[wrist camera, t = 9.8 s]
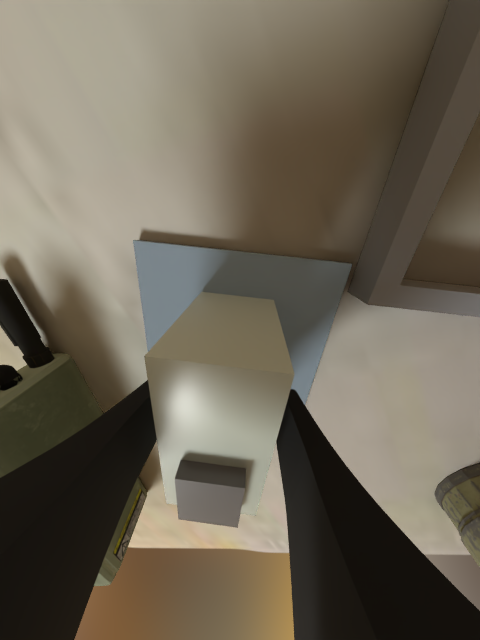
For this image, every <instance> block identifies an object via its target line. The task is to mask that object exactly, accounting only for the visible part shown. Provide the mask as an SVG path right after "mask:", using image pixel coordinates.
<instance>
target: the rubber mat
mask: <svg viewBox="0 0 480 640" xmlns="http://www.w3.org/2000/svg"><path fill="white" fill-rule="evenodd" d="M133 243H134V251H135V258H136V266H137V273H138V281H139V288H140V296H141V303H142V311H143V318H144V325H145V333H146V340H147V348H148V352H149V351H150V349H151V348H152V347H153V346H154V345H155V344H156V343H157V341H158V340H159V339H160V338H161V337H162V336H163V335H164V334H165V332H166V331H167V330H168V329H169V328H170V327H171V326H172V325H173V323H174V322H175V321H176V320H177V319H178V318H179V317H180V316H181V314H182V313H183V312H184V311H185V310H186V309H187V308H188V307H189V305H190V304H191V303H192V302H193V301H194V300H195V299H196V297H197V296H198V295H199V294H200V293H201V292H208V293H217V294H226V295H235V296H244V297H253V298H262V299H271V300H274V302H275V306H276V309H277V313H278V317H279V320H280V324H281V327H282V331H283V334H284V338H285V342H286V345H287V349H288V352H289V356H290V360H291V363H292V367H293V370H294V374H295V375H294V378H293V382H292V386H291V389H294V390H296V391H297V393H298V395H299V396H300V398H301V400H302V401H303V403H304V405H305V403H306V400H307V397H308V394H309V391H310V388H311V385H312V382H313V379H314V376H315V373H316V370H317V367H318V364H319V361H320V358H321V356H322V353H323V350H324V347H325V344H326V341H327V338H328V335H329V332H330V329H331V326H332V323H333V320H334V317H335V314H336V311H337V308H338V305H339V302H340V299H341V296H342V293H343V290H344V287H345V285H346V282H347V279H348V276H349V273H350V270H351V267H352V264H350V263H346V262H337V261H328V260H318V259H309V258H300V257H291V256H281V255H272V254H263V253H254V252H244V251H235V250H226V249H217V248H207V247H198V246H189V245H180V244H170V243H161V242H152V241H143V240H133Z"/></svg>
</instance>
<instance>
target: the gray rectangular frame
mask: <svg viewBox="0 0 480 640" xmlns="http://www.w3.org/2000/svg"><path fill="white" fill-rule="evenodd" d="M479 113H480V0H450V1H449V4H448V7H447V9H446V12H445V15H444V18H443V21H442V24H441V27H440V29H439V32H438V35H437V38H436V41H435V44H434V47H433V49H432V52H431V55H430V58H429V61H428V64H427V67H426V69H425V72H424V75H423V78H422V81H421V84H420V87H419V90H418V92H417V95H416V98H415V101H414V104H413V107H412V110H411V112H410V115H409V118H408V121H407V124H406V127H405V130H404V132H403V135H402V138H401V141H400V144H399V147H398V150H397V153H396V155H395V158H394V161H393V164H392V167H391V170H390V173H389V175H388V178H387V181H386V184H385V187H384V190H383V193H382V195H381V198H380V201H379V204H378V207H377V210H376V213H375V215H374V218H373V221H372V224H371V227H370V230H369V233H368V236H367V238H366V241H365V244H364V247H363V250H362V253H361V256H360V258H359V261H358V264H357V267H356V270H355V273H354V276H353V278H352V281H351V284H350V287H349V290H348V292H349V293H350V294H352V295H354V296H355V297H357V298H358V299H360V300H361V301H363V302H364V303H366V304H368V305H377V306H386V307H394V308H403V309H412V310H421V311H430V312H439V313H448V314H456V315H465V316H474V317H480V287H473V286H464V285H455V284H446V283H436V282H427V281H418V280H409V279H403V277H404V275H405V273H406V271H407V269H408V266H409V264H410V262H411V260H412V258H413V256H414V253H415V251H416V249H417V247H418V245H419V243H420V240H421V238H422V236H423V234H424V232H425V230H426V227H427V225H428V223H429V221H430V219H431V217H432V215H433V212H434V210H435V208H436V206H437V204H438V202H439V199H440V197H441V195H442V193H443V191H444V189H445V186H446V184H447V182H448V180H449V178H450V176H451V173H452V171H453V169H454V167H455V165H456V163H457V161H458V158H459V156H460V154H461V152H462V150H463V148H464V145H465V143H466V141H467V139H468V137H469V135H470V132H471V130H472V128H473V126H474V124H475V122H476V119H477V117H478V115H479Z"/></svg>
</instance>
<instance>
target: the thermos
mask: <svg viewBox="0 0 480 640" xmlns="http://www.w3.org/2000/svg"><path fill="white" fill-rule="evenodd" d="M435 496H436V500H437V502H438V503H439V505H440V506H441V508H442V509H443V510H444V511H445V512H446V513H447V515H448V516H449V518H450V519H451V521H452V522H453V524H454V525H455V527H456V528H457V530H458V531H459V534H460V536H461V540H462V542H463V544H464V545H465V547H466V548H467V550H468V551H469V553H470V554H471V556H472V557H473V559H474V560H475V562H476V563H477V565H478V566H479V568H480V463H479V464H476V465H473V466H470V467H467V468H464V469H461V470H459V471H457V472H456V473H454V474H452V475H450V476H448V477H447V478H445V479H444V480H443V481H442V482H441V483H440V484H439V485H438V487H437V489H436V491H435Z"/></svg>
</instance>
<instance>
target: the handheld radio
mask: <svg viewBox="0 0 480 640" xmlns="http://www.w3.org/2000/svg"><path fill="white" fill-rule="evenodd" d="M0 326H1V327H2V329H3V330H4V331H5V333H6V334H7V336H8V337H9V339H10V340H11V342H12V343H13V344H14V346H18V347H19V348H20V350H21V351H22V353H23V354H24V356H23V359H24V360H25V362H26V363H27V365H26V366H24V367H23V368H21V369H19V370H18V371H16V370H15V369H14V368H13V367H12V366H9V365H0V478H1V477H3V476H4V475H6V474H8V473H10V472H12V471H13V470H15V469H17V468H19V467H20V466H22V465H24V464H25V463H27V462H29V461H31V460H32V459H34V458H36V457H38V456H39V455H41V454H43V453H45V452H46V451H48V450H50V449H51V448H53V447H55V446H56V445H58V444H59V443H61V442H63V441H64V440H66V439H67V438H69V437H71V436H72V435H74V434H75V433H77V432H78V431H80V430H81V429H83V428H84V427H86V426H87V425H89V424H90V423H91V422H93V421H94V420H96V419H97V418H99V417H100V416H101V415H103V412H102V410H101V409H100V407H99V405H98V403H97V401H96V400H95V398H94V396H93V394H92V393H91V391H90V389H89V387H88V385H87V384H86V382H85V380H84V378H83V376H82V375H81V373H80V371H79V369H78V367H77V366H76V364H75V362H74V360H73V359H72V358H71V357H70V356H69V355H67V354H64V353H62V354H52V353H51V351H50V349H49V348H48V347H45V346H44V344H43V342H42V341H41V339H40V338H41V336H40V335H39V333H38V331H37V330H36V328H35V326H34V324H33V323H32V321H31V319H30V318H29V316H28V314H27V312H26V311H25V309H24V307H23V306H22V304H21V302H20V300H19V299H18V297H17V295H16V294H15V292H14V290H13V288H12V287H11V285H10V283H9V282H8V280H6V279H0ZM146 497H147V492H146V490H145V488H144V486H143V484H142V482H141V481H140V479H139V477H138V478H137V480H136V482H135V484H134V487H133V489H132V491H131V493H130V496H129V498H128V500H127V503H126V505H125V508H124V510H123V513H122V515H121V517H120V520H119V522H118V525H117V527H116V530H115V532H114V535H113V537H112V540H111V542H110V545H109V547H108V550H107V553H106V555H105V558H104V560H103V563H102V566H101V568H100V571H99V573H98V576H97V579H96V581H95V584H94V586H105V585H109V584H111V582H112V581H113V579H114V577H115V575H116V573H117V571H118V570H119V568H120V566H121V563H122V561H123V558H124V555H125V553H126V550H127V547H128V545H129V542H130V539H131V537H132V534H133V531H134V529H135V526H136V523H137V521H138V518H139V515H140V513H141V510H142V508H143V505H144V502H145V500H146Z"/></svg>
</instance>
